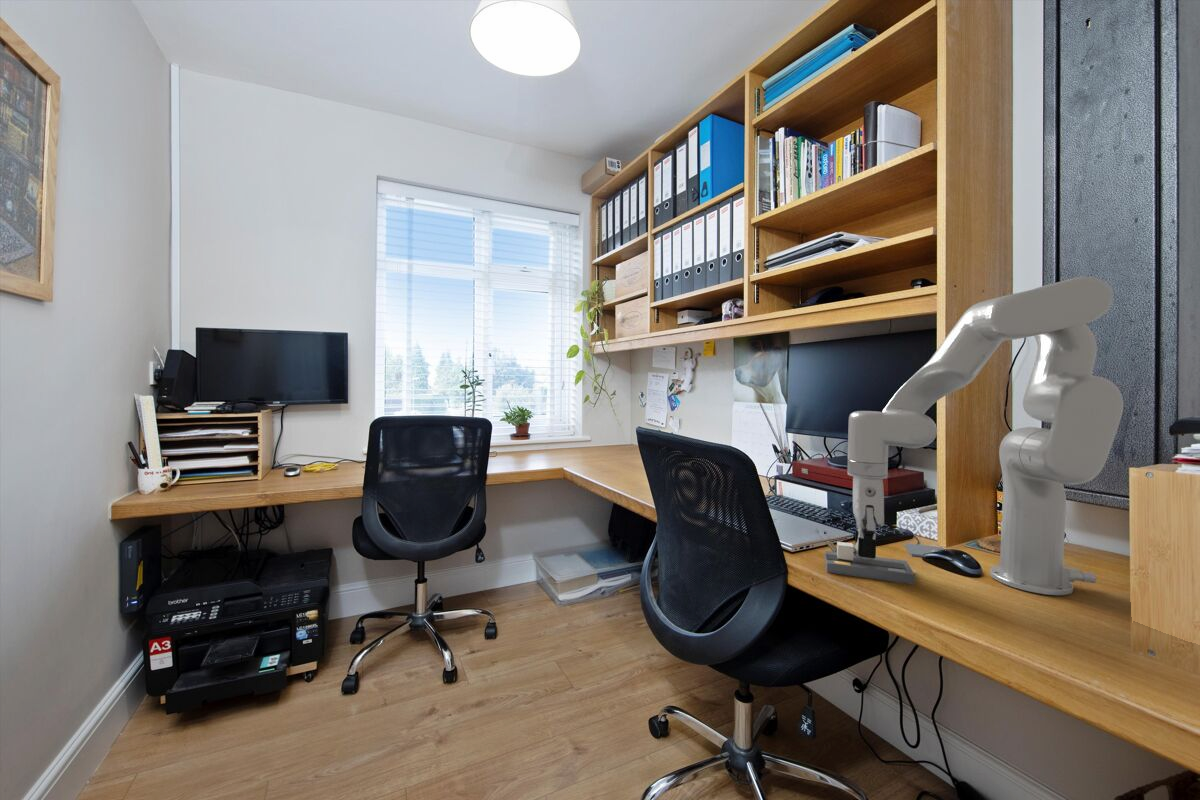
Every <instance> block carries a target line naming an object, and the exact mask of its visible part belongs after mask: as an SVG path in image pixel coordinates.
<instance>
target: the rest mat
mask: <svg viewBox="0 0 1200 800" xmlns="http://www.w3.org/2000/svg"><path fill="white" fill-rule="evenodd" d="M904 547H905V548H906V549H907V551H908V553H909V554H910V556H912V557H916V558H917V557H918V558H923V557H922V556H923V554H924V553H927V552H930V551H932V550H936V549H945V548H944V547H943V546H935V545H926V544H917V543H909V542H904Z"/></svg>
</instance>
